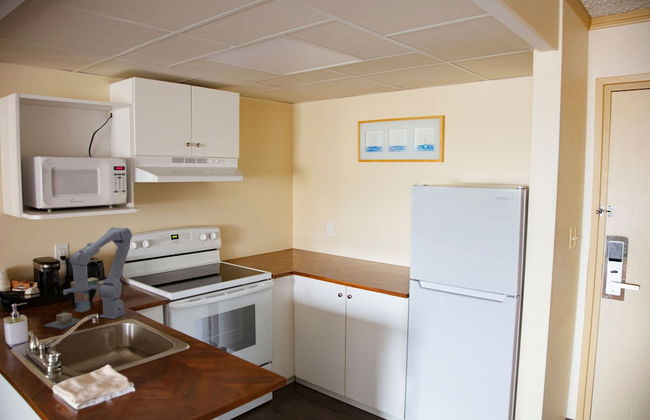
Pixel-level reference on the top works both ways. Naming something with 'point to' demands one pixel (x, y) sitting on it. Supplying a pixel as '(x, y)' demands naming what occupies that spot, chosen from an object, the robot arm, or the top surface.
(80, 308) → the blue block
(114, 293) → the robot arm
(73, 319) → the baseplate
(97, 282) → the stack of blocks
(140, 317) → the top surface
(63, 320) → the maple block
